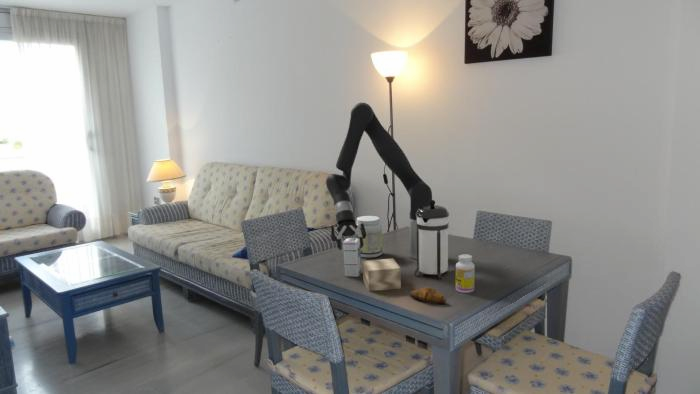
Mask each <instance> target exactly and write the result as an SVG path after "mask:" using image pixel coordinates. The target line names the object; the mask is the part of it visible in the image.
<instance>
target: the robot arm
mask: <svg viewBox="0 0 700 394" xmlns="http://www.w3.org/2000/svg"><path fill="white" fill-rule="evenodd" d="M348 124H349V125H348V129H347V132H346V133H347V134H346V137H345V139H344V141H343V144H342V147H341V149H340V151H339V154H338V157H337V160H336V164H335V167H336V169H338V171H339V170H340V171H341V172H342V174H338V173H337V174H336V173H330V174H329V175H327V177H326V181H325V183H326V188H327V190H328V192H329V194H330V196H331V198H332V200H333V206H334V215H335V220H336V225H337V226H335V225H331V226H330V229H329V230H330V231H329V232H330V240H331V242H336V248H337V249H338V250H339V251H341V250H342V248H343V245H342V241H341V239H342V238H343V237H353V238H355V237H356V238H359V239H360V248H362V247H363V244H364V243H363V239H365V238H366V231H365V228H364V224H363V223H361V225H356V224H357V222H356V220H355V215H354V210H353V206H352V203H351V199H350V198H351V197H350V194H349V192H347V191H348V190H349V189H350V188H351V185H352V184H351V181H352V179H351V178H352V170H353V167H354V163H355V160H356V158H357V154H358V150H359V147H360V143H361V140H362V137H363V135H364V133H366V134H367V136H368V138H369V139H370V141H371V143H372V145H373V147H374V150H376V152H377V154H378V156H379V157H380V158H381V160H382V161H383V162H384V163H385V165H386V166H387V168H388V169H389V170H390V171H391V172H392V173H393V174H394V175H395V176H396V177H397V178H398V179H399V181H400V182H401V183H402V185H403V186H404V188H405V190H406V192H407V193H408V196H409V198H410V210H409V256H410V258H412V259H416V260H417V227H416V222H417V216H416V212H417V210H418V209H419V208H420V207H422V206H426V205H430V203H429V202H430V201H431V200H433V192H432V191H433V190H432V188H431V187H430V186H429V185H428V184H427V183H426V182H424V180H423V179H422V178H421V177H420V176H419V175H418V173H416V171H415V170H414V169H413V166H412V165H411V163H410V161H409V159H408V157H407V156H406V154H405V152H404V151H403V150H402V148H401V146H400V145H399V144H398V143H397V142H396V140H395V138H393V136H392V135H391V134H390V133H389V132H388V130H386V128H385V127H384V126H383V125H382V124H381V122H380V121H379V119H378V117H377V115H376V113H375V112H374V109H373V107H371V105H370V104H368V103H366V102H359V103H356V104H354V106H353V107H352V109H351V111H350V119H349V123H348ZM357 228H358V229H359V230H361V234H362V235H361V234H360V233H359V232H358V231H357V230H356V229H357ZM336 231H337V232H338V235H337V236H336V235H335V233H336Z"/></svg>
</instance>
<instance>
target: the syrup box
mask: <svg viewBox="0 0 700 394" xmlns="http://www.w3.org/2000/svg"><path fill="white" fill-rule="evenodd" d="M342 248H343V263H344V264H343V266H344V268H343V269H344V276H345V277H353V278H354V277H355V278H357V277H358V278H359V276H360V275H361V273H362V266H361V265H362V262H361V261H362V259H361V258H362V257H360V239H359V238H355V237H346V238H345V239H344V240H343V241H342Z"/></svg>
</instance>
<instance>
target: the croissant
mask: <svg viewBox="0 0 700 394" xmlns="http://www.w3.org/2000/svg"><path fill="white" fill-rule="evenodd" d="M409 296H410V297H411V299H415V300H418V301H422V302H424V303H433V304H437V305H438V304H440V305H441V304H442V305H443V304H446V302H447V298H446V296H444V295H443V294H441V293H440V292H438V291H437V289H436V288H433V287H430V286H426V287H422V288H419V289H413V290H412V291H410V293H409Z"/></svg>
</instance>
